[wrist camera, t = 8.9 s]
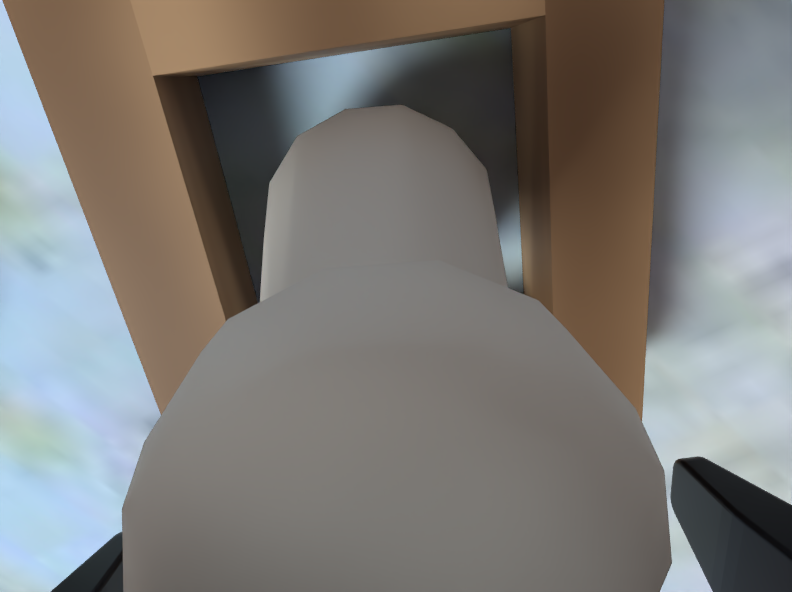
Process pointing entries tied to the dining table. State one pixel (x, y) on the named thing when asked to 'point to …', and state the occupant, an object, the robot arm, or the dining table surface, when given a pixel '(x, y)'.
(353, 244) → the salt shaker
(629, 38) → the frame
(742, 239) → the dining table surface
